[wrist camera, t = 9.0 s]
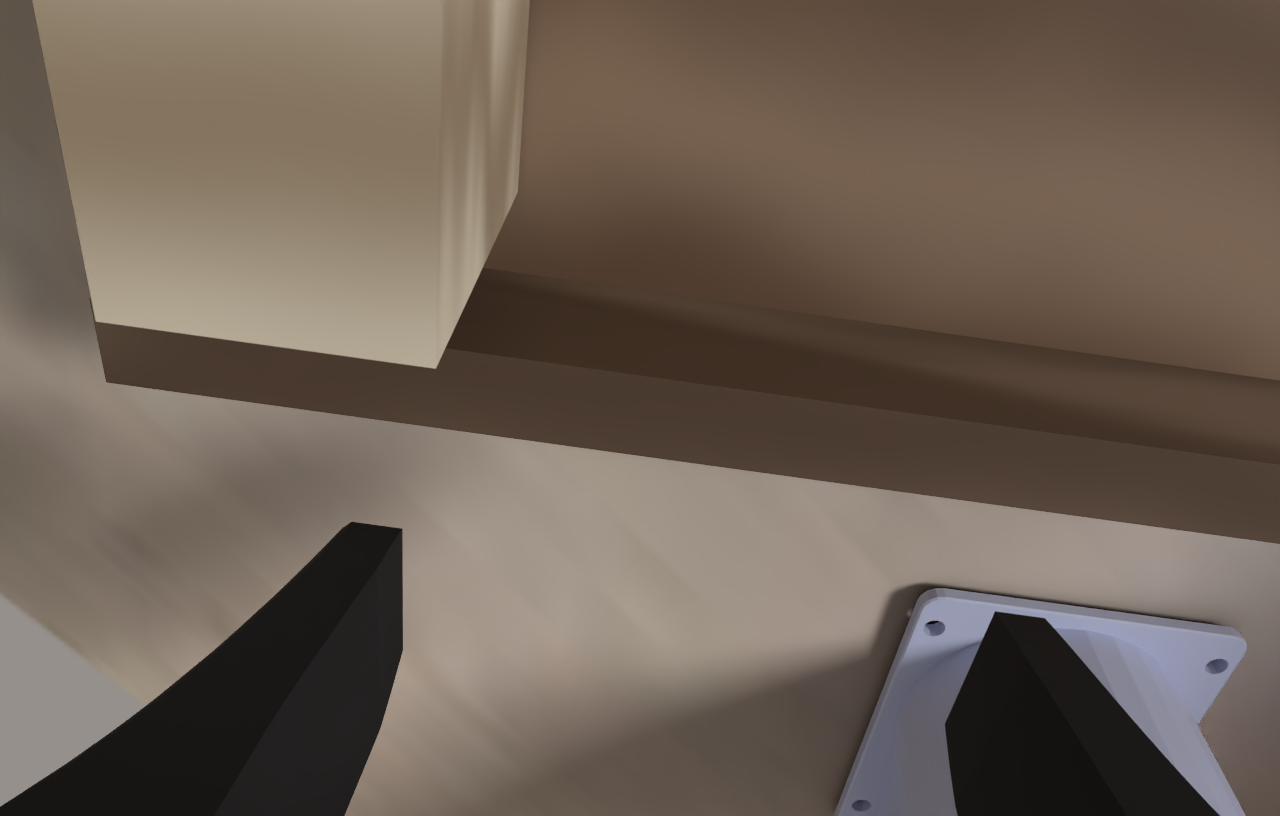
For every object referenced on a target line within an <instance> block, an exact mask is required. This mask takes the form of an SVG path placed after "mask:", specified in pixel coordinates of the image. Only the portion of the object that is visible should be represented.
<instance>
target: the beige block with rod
mask: <svg viewBox="0 0 1280 816" xmlns="http://www.w3.org/2000/svg"><path fill="white" fill-rule="evenodd" d="M32 2H33V7H34V12H35V17H36V22H37V27H38V32H39V37H40V42H41V47H42V53H43V58H44V63H45V68H46V73H47V78H48V83H49V88H50V93H51V98H52V103H53V108H54V113H55V118H56V123H57V128H58V133H59V138H60V144H61V149H62V154H63V159H64V164H65V169H66V174H67V179H68V184H69V189H70V194H71V199H72V204H73V209H74V214H75V219H76V224H77V229H78V234H79V240H80V245H81V250H82V255H83V260H84V265H85V270H86V275H87V280H88V285H89V290H90V295H91V300H92V305H93V310H94V315H95V320H96V322H103V323H110V324H117V325H124V326H132V327H139V328H146V329H153V330H160V331H168V332H175V333H182V334H189V335H196V336H204V337H211V338H218V339H225V340H232V341H240V342H247V343H254V344H261V345H268V346H275V347H283V348H290V349H297V350H304V351H311V352H319V353H326V354H333V355H340V356H347V357H355V358H362V359H369V360H376V361H383V362H390V363H398V364H405V365H412V366H419V367H426V368H434V369H436V367H437V365H438V363H439V361H440V359H441V357H442V354H443V352H444V350H445V348H446V346H447V344H448V341H449V339H450V337H451V335H452V333H453V331H454V329H455V326H456V324H457V322H458V320H459V318H460V316H461V313H462V311H463V309H464V307H465V305H466V303H467V301H468V298H469V296H470V294H471V292H472V290H473V288H474V285H475V283H476V281H477V279H478V277H479V275H480V272H481V270H482V268H483V266H484V264H485V262H486V260H487V257H488V255H489V253H490V251H491V249H492V247H493V244H494V242H495V240H496V238H497V236H498V234H499V232H500V229H501V227H502V225H503V223H504V221H505V219H506V216H507V214H508V212H509V210H510V208H511V206H512V204H513V201H514V199H515V197H516V195H517V193H518V180H519V164H520V148H521V132H522V117H523V101H524V85H525V69H526V53H527V38H528V22H529V6H530V0H32Z"/></svg>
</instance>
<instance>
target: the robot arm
mask: <svg viewBox="0 0 1280 816" xmlns="http://www.w3.org/2000/svg"><path fill="white" fill-rule="evenodd" d="M930 621H939V622H937V623H935V624H926V623H928V622H930ZM1247 648H1248V647H1247V643H1246V641H1245V639H1244V638H1243V636H1242V635H1241V633H1240V632H1239V631H1238V630H1236V629H1234V628H1231V627H1226V626H1219V625H1212V624H1204V623H1197V622H1190V621H1182V620H1175V619H1167V618H1160V617H1153V616H1145V615H1138V614H1130V613H1123V612H1116V611H1108V610H1101V609H1094V608H1086V607H1079V606H1071V605H1064V604H1057V603H1049V602H1042V601H1034V600H1027V599H1020V598H1012V597H1005V596H997V595H990V594H983V593H975V592H968V591H961V590H953V589H946V588H934V589H931V590H928V591H926V592H924V593H923V594H922V595H920V597H919V598H918V600H917V602H916V604H915V607H914V610H913V612H912V615H911V617H910V620H909V622H908V625H907V628H906V630H905V633H904V635H903V638H902V640H901V643H900V646H899V648H898V651H897V653H896V656H895V658H894V661H893V664H892V666H891V669H890V671H889V674H888V676H887V679H886V682H885V684H884V687H883V689H882V692H881V694H880V697H879V700H878V702H877V705H876V707H875V710H874V712H873V715H872V718H871V720H870V723H869V725H868V728H867V730H866V733H865V736H864V738H863V741H862V743H861V746H860V748H859V751H858V754H857V756H856V759H855V761H854V764H853V766H852V769H851V772H850V774H849V777H848V779H847V782H846V784H845V787H844V790H843V792H842V795H841V797H840V800H839V802H838V805H837V808H836V810H835V813H834V816H1246V815H1245V813H1244V812H1243V810H1242V808H1241V806H1240V804H1239V802H1238V800H1237V798H1236V796H1235V795H1234V793H1233V791H1232V789H1231V787H1230V785H1229V783H1228V781H1227V780H1226V778H1225V776H1224V774H1223V772H1222V770H1221V768H1220V766H1219V765H1218V763H1217V761H1216V759H1215V757H1214V755H1213V753H1212V751H1211V749H1210V748H1209V746H1208V744H1207V742H1206V740H1205V738H1204V736H1203V734H1202V733H1201V731H1200V729H1199V727H1198V724H1199V722H1200V721H1201V719H1202V718H1203V716H1204V715H1205V713H1206V712H1207V710H1208V709H1209V707H1210V706H1211V704H1212V703H1213V701H1214V700H1215V698H1216V697H1217V695H1218V694H1219V692H1220V691H1221V689H1222V688H1223V686H1224V685H1225V683H1226V682H1227V680H1228V679H1229V677H1230V676H1231V674H1232V673H1233V671H1234V670H1235V668H1236V667H1237V665H1238V664H1239V662H1240V661H1241V659H1242V658H1243V656H1244V655H1245V653H1246V650H1247ZM402 651H403V588H402V529H399V528H392V527H385V526H378V525H371V524H363V523H356V522H351V523H349V524H348V525H346V526H345V527H343V528H342V529H341V530H340V531H339V532H338V533H337V534H336V535H335V536H334V537H333V538H332V539H331V540H330V542H329V543H328V544H327V545H326V546H325V547H324V548H323V549H322V550H321V551H320V552H319V553H318V554H317V555H316V556H315V557H314V558H313V559H312V560H311V561H310V562H309V563H308V564H307V565H306V566H305V567H304V568H303V569H302V570H301V571H300V572H299V573H298V574H297V575H296V576H295V577H293V578H292V579H291V580H290V581H289V582H288V583H287V584H286V585H285V586H284V587H283V588H282V589H281V590H280V591H279V592H278V593H277V594H276V595H275V596H274V597H273V598H272V599H271V600H269V601H268V602H267V603H266V604H265V605H264V606H263V607H262V608H261V609H260V610H258V611H257V612H256V613H255V614H254V615H253V616H252V617H251V618H250V619H249V620H248V621H246V622H245V623H244V624H243V625H242V626H241V627H240V628H239V629H238V630H237V631H235V632H234V633H233V634H232V635H231V636H230V637H229V638H228V639H227V640H225V641H224V642H223V643H222V644H221V645H220V646H219V647H217V648H216V649H215V650H214V651H213V652H212V653H210V654H209V655H208V656H207V657H205V658H204V659H203V660H202V661H201V662H199V663H198V664H197V665H196V666H195V667H193V668H192V669H191V670H190V671H189V672H187V673H186V674H185V675H184V676H182V677H181V678H180V679H179V680H178V681H176V682H175V683H174V684H173V685H172V686H170V687H169V688H168V689H167V690H165V691H164V692H163V693H162V694H161V695H159V696H158V697H157V698H156V699H154V700H153V701H152V702H150V703H149V704H148V705H147V706H145V707H144V708H143V709H141V710H140V711H139V712H137V713H136V714H135V715H133V716H132V717H131V718H130V719H128V720H127V721H126V722H124V723H123V724H121V725H120V726H119V727H117V728H116V729H115V730H113V731H112V732H111V733H109V734H108V735H106V736H105V737H104V738H102V739H101V740H99V741H98V742H97V743H95V744H94V745H92V746H91V747H89V748H88V749H87V750H85V751H84V752H82V753H81V754H80V755H78V756H77V757H75V758H74V759H72V760H71V761H70V762H68V763H67V764H65V765H64V766H62V767H61V768H59V769H58V770H56V771H55V772H53V773H51V774H50V775H48V776H47V777H45V778H44V779H42V780H41V781H39V782H38V783H36V784H35V785H33V786H32V787H30V788H28V789H27V790H25V791H24V792H23V793H21V794H19V795H18V796H16V797H15V798H13V799H12V800H10V801H8V802H7V803H5V804H4V805H2V806H1V807H0V816H344V815H345V813H346V810H347V808H348V805H349V803H350V801H351V798H352V796H353V793H354V791H355V789H356V786H357V784H358V781H359V779H360V777H361V774H362V772H363V769H364V767H365V764H366V762H367V760H368V757H369V755H370V752H371V750H372V748H373V745H374V743H375V740H376V738H377V735H378V733H379V730H380V728H381V724H382V721H383V717H384V714H385V711H386V707H387V704H388V701H389V697H390V694H391V690H392V687H393V683H394V680H395V676H396V672H397V669H398V665H399V662H400V658H401V654H402ZM1215 659H1216V660H1215ZM1212 660H1213V661H1212Z"/></svg>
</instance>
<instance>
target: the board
mask: <svg viewBox="0 0 1280 816" xmlns="http://www.w3.org/2000/svg"><path fill="white" fill-rule="evenodd" d="M90 303H91V308H92V313H93V318H94V323H95V328H96V333H97V338H98V343H99V348H100V353H101V358H102V363H103V368H104V373H105V378H106V382H108V383H115V384H123V385H130V386H137V387H144V388H152V389H159V390H166V391H173V392H181V393H188V394H195V395H203V396H210V397H217V398H224V399H232V400H239V401H246V402H253V403H261V404H268V405H275V406H282V407H290V408H297V409H304V410H312V411H319V412H326V413H333V414H341V415H348V416H355V417H362V418H370V419H377V420H384V421H391V422H399V423H406V424H413V425H421V426H428V427H435V428H442V429H450V430H457V431H464V432H471V433H479V434H486V435H493V436H500V437H508V438H515V439H522V440H530V441H537V442H544V443H551V444H559V445H566V446H573V447H580V448H588V449H595V450H602V451H609V452H617V453H624V454H631V455H639V456H646V457H653V458H660V459H668V460H675V461H682V462H689V463H697V464H704V465H711V466H718V467H726V468H733V469H740V470H748V471H755V472H762V473H769V474H777V475H784V476H791V477H798V478H806V479H813V480H820V481H827V482H835V483H842V484H849V485H857V486H864V487H871V488H878V489H886V490H893V491H900V492H907V493H915V494H922V495H929V496H936V497H944V498H951V499H958V500H966V501H973V502H980V503H987V504H995V505H1002V506H1009V507H1016V508H1024V509H1031V510H1038V511H1045V512H1053V513H1060V514H1067V515H1075V516H1082V517H1089V518H1096V519H1104V520H1111V521H1118V522H1125V523H1133V524H1140V525H1147V526H1154V527H1162V528H1169V529H1176V530H1184V531H1191V532H1198V533H1205V534H1213V535H1220V536H1227V537H1234V538H1242V539H1249V540H1256V541H1263V542H1271V543H1278V544H1280V0H530V6H529V22H528V38H527V53H526V69H525V85H524V101H523V117H522V132H521V148H520V164H519V180H518V193H517V195H516V197H515V199H514V201H513V204H512V206H511V208H510V210H509V212H508V214H507V216H506V219H505V221H504V223H503V225H502V227H501V229H500V232H499V234H498V236H497V238H496V240H495V242H494V244H493V247H492V249H491V251H490V253H489V255H488V257H487V260H486V262H485V264H484V266H483V268H482V270H481V272H480V275H479V277H478V279H477V281H476V283H475V285H474V288H473V290H472V292H471V294H470V296H469V298H468V301H467V303H466V305H465V307H464V309H463V311H462V313H461V316H460V318H459V320H458V322H457V324H456V326H455V329H454V331H453V333H452V335H451V337H450V339H449V341H448V344H447V346H446V348H445V350H444V352H443V354H442V357H441V359H440V361H439V363H438V365H437V367H436V369H434V368H426V367H419V366H412V365H405V364H398V363H390V362H383V361H376V360H369V359H362V358H355V357H347V356H340V355H333V354H326V353H319V352H311V351H304V350H297V349H290V348H283V347H275V346H268V345H261V344H254V343H247V342H240V341H232V340H225V339H218V338H211V337H204V336H196V335H189V334H182V333H175V332H168V331H160V330H153V329H146V328H139V327H132V326H124V325H117V324H110V323H103V322H96V320H95V315H94V310H93V305H92V300H91V298H90Z"/></svg>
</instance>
